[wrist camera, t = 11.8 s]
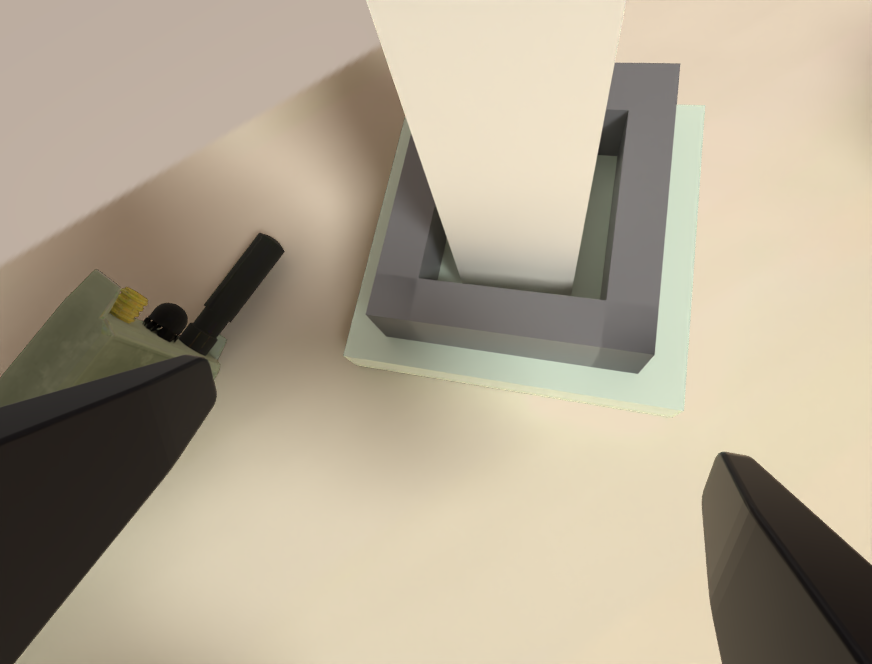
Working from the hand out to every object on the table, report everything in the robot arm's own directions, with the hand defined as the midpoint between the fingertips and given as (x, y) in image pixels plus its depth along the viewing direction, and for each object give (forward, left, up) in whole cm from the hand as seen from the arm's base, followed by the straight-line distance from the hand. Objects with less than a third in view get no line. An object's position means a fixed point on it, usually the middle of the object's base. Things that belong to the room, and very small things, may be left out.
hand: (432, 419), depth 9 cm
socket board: (+6, -6, -10) cm, 13 cm away
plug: (+6, -6, -9) cm, 12 cm away
